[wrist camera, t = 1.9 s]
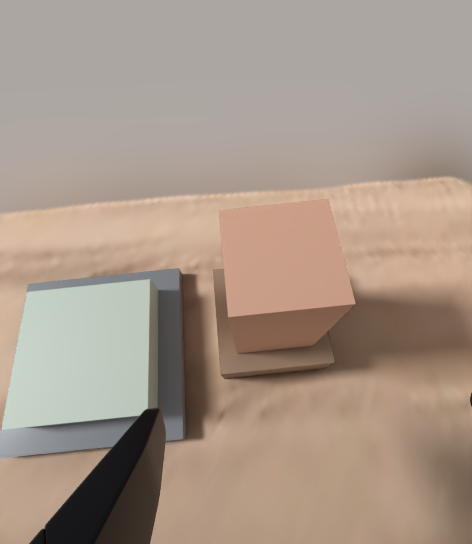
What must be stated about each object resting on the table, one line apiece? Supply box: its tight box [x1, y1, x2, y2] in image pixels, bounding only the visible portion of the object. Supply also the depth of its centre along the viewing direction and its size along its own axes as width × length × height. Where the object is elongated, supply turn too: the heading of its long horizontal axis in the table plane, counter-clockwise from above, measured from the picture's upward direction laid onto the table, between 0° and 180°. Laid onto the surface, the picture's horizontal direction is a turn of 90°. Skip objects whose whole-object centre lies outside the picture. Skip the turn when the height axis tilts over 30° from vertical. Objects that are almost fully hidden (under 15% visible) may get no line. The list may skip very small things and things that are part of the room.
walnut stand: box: [213, 269, 335, 379], centre depth 20 cm, size 6×6×3 cm
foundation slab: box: [2, 279, 158, 430], centre depth 19 cm, size 8×8×2 cm
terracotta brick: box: [219, 199, 356, 354], centre depth 15 cm, size 4×4×8 cm
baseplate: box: [0, 268, 186, 458], centre depth 21 cm, size 11×11×1 cm
